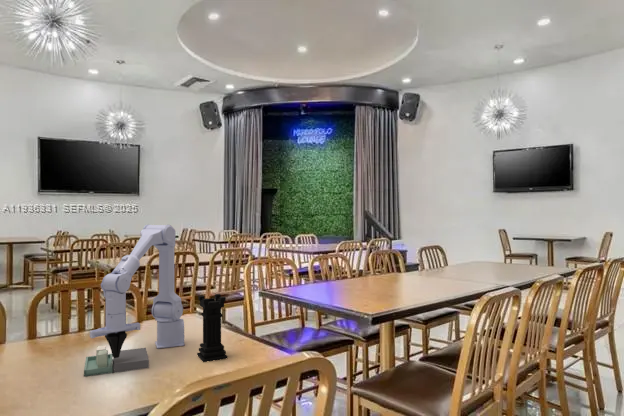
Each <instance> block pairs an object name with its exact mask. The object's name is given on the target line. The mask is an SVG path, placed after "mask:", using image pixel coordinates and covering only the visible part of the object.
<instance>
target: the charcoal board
mask: <svg viewBox="0 0 624 416" xmlns="http://www.w3.org/2000/svg"><path fill="white" fill-rule="evenodd" d="M112 362H113V374H114V373H120V372H121V373H122V372H128V371H129V372H130V371H135V370H137V371H138V370H143V369H149V368H150V359H149V355H148V351H147V347H140V348H132V349H129V348H128V349H121V351H120V355H119V357H118V358H114V357H112Z"/></svg>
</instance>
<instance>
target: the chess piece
mask: <svg viewBox="0 0 624 416" xmlns="http://www.w3.org/2000/svg"><path fill="white" fill-rule="evenodd" d="M226 300H227V299H226V297H225V296H222V294H220V293H217V294H216V293H215V294H214V298H213V297H212V298H208V297H207V298H205V295H198V301H199V306H200V307H201V308H202V312H201V316H202V343H199V347H198V352H196V356H197V355H198V356H197V357H198V358H199V359H200V361H201V360H202V361H203V362H202V361H201V362H202V363H208V362H207V361H209V362H214V361H213V360H215V361H221V360H226V358H227V359H228V355H227V354H226V353H227V352H226V349H225V345H224V344H223V343H222V318H223V316H224V314H223V313H222V308H225V302H226ZM220 359H221V360H220Z"/></svg>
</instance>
